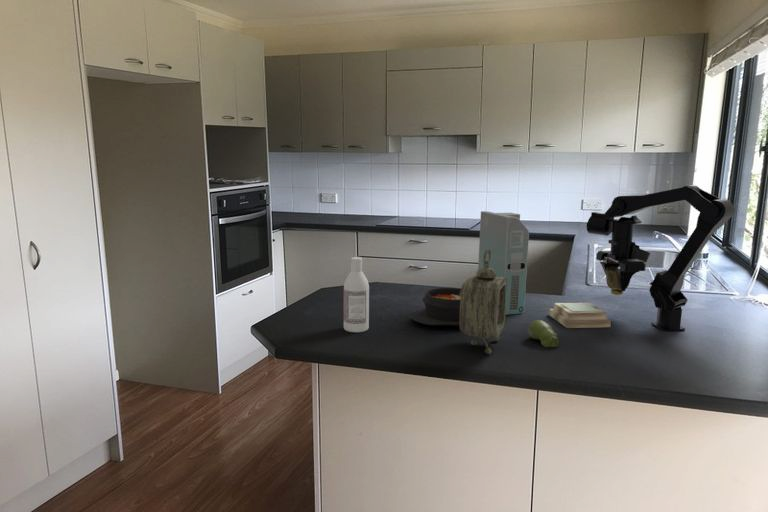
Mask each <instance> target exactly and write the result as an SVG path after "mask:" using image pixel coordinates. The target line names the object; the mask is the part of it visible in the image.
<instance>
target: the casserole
mask: <svg viewBox="0 0 768 512" xmlns="http://www.w3.org/2000/svg"><path fill="white" fill-rule="evenodd" d="M460 296H461V288H459V287H439V288H433V289H429V290H427V291H426V293H425V295H424V297H422V299H421V300H422V302H423V303H424V309H422V310H419V311H416V312H415V311H414V312H413V313H410V315H409V317H410V318H411V320H412V321H415V322H416V323H420V324H423V325H426V326H443V327H453V328H454V327H459V320H460Z"/></svg>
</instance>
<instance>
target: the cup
mask: <svg viewBox="0 0 768 512" xmlns="http://www.w3.org/2000/svg"><path fill="white" fill-rule="evenodd" d="M617 269H619V268H618V267H615V268H614V267H612V266H611V267H610V268H608V267H607V268H606V274H605V279H606V285H607V287H608V288H609V289H610V294H612V295H614V296H622V295H623V294H624V293H625V291H621V289H620V284H619V279H618V274H617ZM630 282H631V280H630V281H629V284H628V286H627V288H628V287H629V286H630Z"/></svg>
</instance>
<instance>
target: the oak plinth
mask: <svg viewBox="0 0 768 512" xmlns="http://www.w3.org/2000/svg"><path fill="white" fill-rule="evenodd" d="M548 316H550V317H551V318H552V319H554V320H555V321H556V322H558V323H559V324H561V325H562V326H563V327H564V328H566V329H575V328H577V329H579V328H582V329H584V328H586V329H589V328H591V329H592V328H611V325H612V324H611V323H612V320H611V319H610V318H608V317H607V312H606V311H605V310H603V309H601V308H599V307H597V306H596V305H594V304H593V303H590V302H554V303H553V308H549V309H548Z"/></svg>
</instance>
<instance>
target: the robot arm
mask: <svg viewBox="0 0 768 512" xmlns="http://www.w3.org/2000/svg"><path fill="white" fill-rule="evenodd" d="M683 201H686V202H687V203H688V204H689V205H690V206H692V207H693V208H694V209H695V210H696V211H698V212H699V214H698V216H697V221H696V225H695V226H696V227H695V228H694V230H693V231H692V233H691V234H690V235H689V238H688V239H687V240H686V242H685V244H684V245H683V247H682V248H681V250H680V251H679V253H678V255H676V257H675V259H674V261H673V262H672V264H670V266H669V268H668V269H667V270H661V271H659V272H658V271H657V272H656V274H655V277H654V279H652V281H651V282H650V283H649V285H650V287H649V295H650V296H651V298H652V299H653V303H654V307H655V308H657V313H656V314H657V315H656V322H651V325H653V326H655V327H656V328H658V329H660V330H662V331H666V332H667V331H668V332H670V331H672V332H673V331H686V328H685V327H683V326H681V323H682V315H683V314H682V313H683V309H682V307H685V306H686V304H687V302H688V298H687V297H686V296H685V294H684V293H683V292H682V291H681V290H682V288H683V286H684V280H685V276H686V274H687V273H688V271H689V270H690V268H691V266H692V265H693V264H694V262H695V261H696V259H697V258H698V257H699V255H700V254H701V253H702V250H703V249H704V248H705V246H706V245H707V244H708V242H709V240H710V239H711V237H712V236H713V235H714V234H715V232H717V231H718V230H719V229H720V228H722V227H723V226H725V225H726V223H727V222H728V221H729V220H730V219H731V218H732V217H733V215H734V213H735V207H734V205H733V203H732V202H731V201H730V200H728V199H724V198H721V199H720V197H717V196H716V195H713V194H711V193H709V192H708V191H706V190H703V189H702V188H700V187H699V186H698V185H695V184H692V185H691V184H688V185H684V186H682V187H677V188H673V189H668V190H664V191H662V190H661V191H657V192H653V193H648V194H633V195H632V194H631V195H630V194H629V195H618V196H616V197H614V198H613V200H612V201H611V205H610V206H609V207H608V209H607V210H606V211H605V213H602V212H599V211H593V212H591V213H590V214H591V215H590V217H589V218H588V219H587V222H586V231H587V233H589V234H590V235H599V236H605V237H606V236H609V235H611V239H608V244H610V250H598V252H596V255H595V256H596V257H595V260H597V261H598V262H599V264H600V265H601V267H602V269H603V272H604V274H605V275H606V268H607V267H608V268H610V267H611V266H612V267H614V268H615V267H618V269H617V274H618V279H619V284H620V289H621V291H623V292H625V291H626V290H627V288H628V287H629V286H628V284H629V285H630V283H629V281H630V282H631V279H632V277H633V275H635V274H636V273H640V272H645V271H646V267H647V266H646V264H647V262H648V260H649V258H650V255H651V252H649V251H646V250H644V249H641V248H640V245H637V243H636V241H633V235H634V227H635V226H634V225H639V224H642V221H641V220H640V218H638V217H637V215H635V214H636V213H639V212H641V211H643V210H646V209H648V208H651V207H656V206H662V205H668V204H673V203H678V202H683ZM633 214H634V215H633ZM628 215H630V217H627V216H628ZM615 218H616V219H615ZM617 218H618V219H617ZM627 286H628V287H627Z"/></svg>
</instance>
